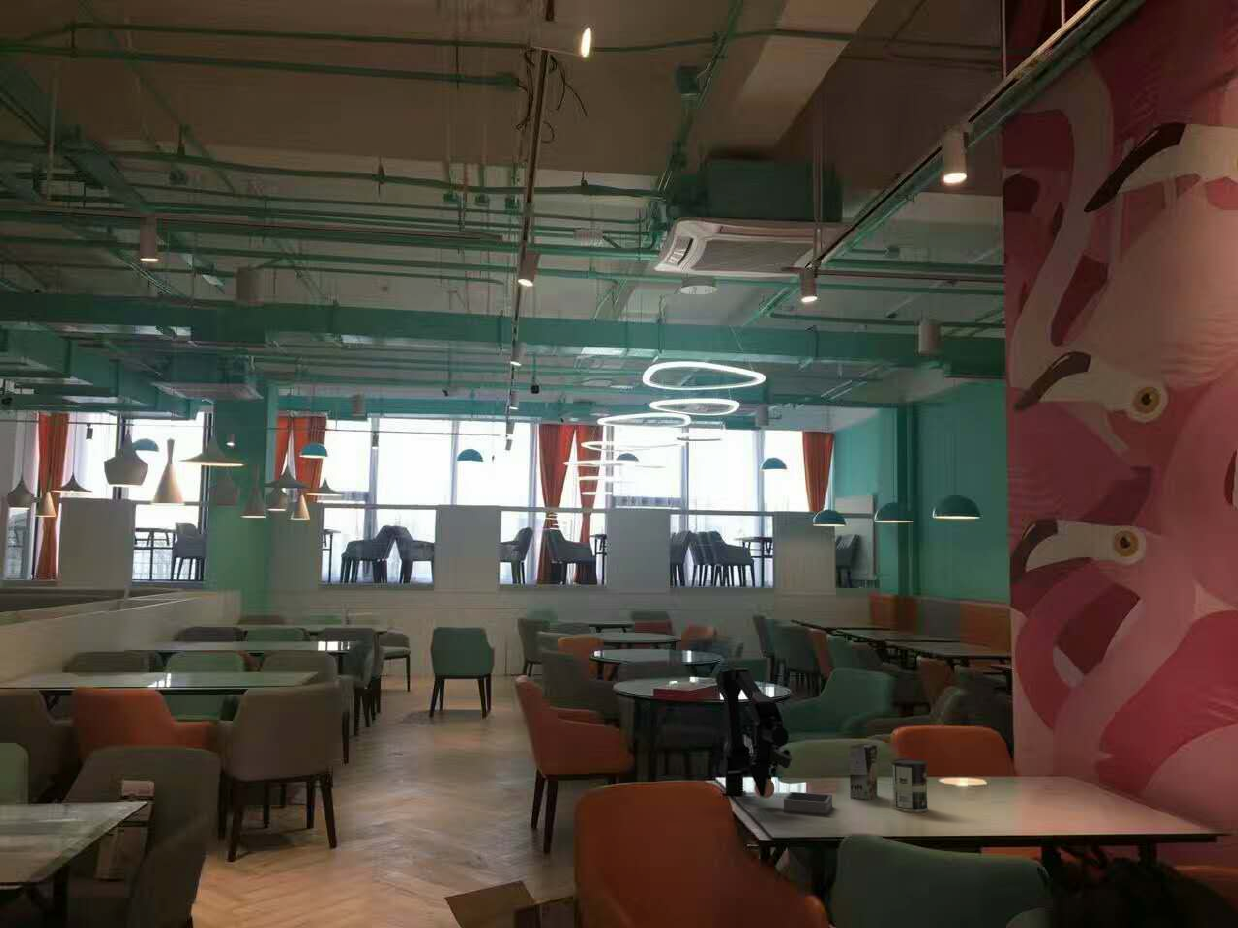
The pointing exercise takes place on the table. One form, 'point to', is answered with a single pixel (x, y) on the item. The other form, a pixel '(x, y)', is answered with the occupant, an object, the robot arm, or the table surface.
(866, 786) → the coffee box
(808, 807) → the grey open square tray
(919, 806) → the coffee can
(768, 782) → the ball
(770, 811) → the table surface
